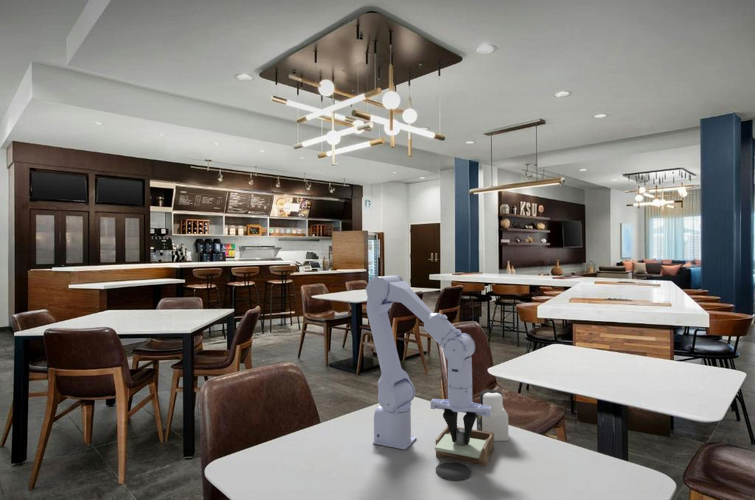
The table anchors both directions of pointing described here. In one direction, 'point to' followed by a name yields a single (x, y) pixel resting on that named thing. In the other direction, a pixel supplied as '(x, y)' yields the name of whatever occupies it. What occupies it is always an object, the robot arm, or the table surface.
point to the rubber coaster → (453, 471)
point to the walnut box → (481, 460)
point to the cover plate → (461, 445)
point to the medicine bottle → (494, 415)
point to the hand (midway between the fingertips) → (460, 441)
